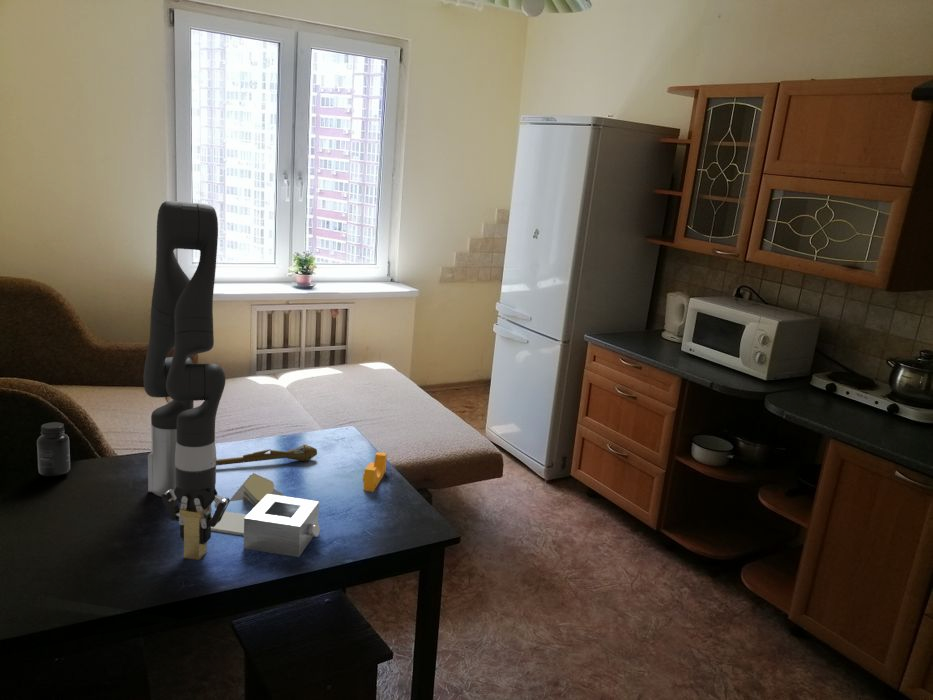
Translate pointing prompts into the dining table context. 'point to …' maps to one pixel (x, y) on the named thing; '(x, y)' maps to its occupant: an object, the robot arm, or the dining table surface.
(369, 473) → the pipe clamp
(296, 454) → the panzerfaust rocket launcher
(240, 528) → the mat
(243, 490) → the stacked layers on plate
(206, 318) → the robot arm
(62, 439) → the supplement bottle
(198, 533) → the capped wooden post
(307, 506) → the block
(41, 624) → the dining table surface
